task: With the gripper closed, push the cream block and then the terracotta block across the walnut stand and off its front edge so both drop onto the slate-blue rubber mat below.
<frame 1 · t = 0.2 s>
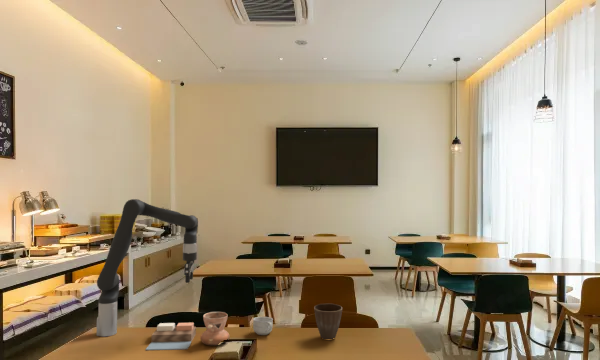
hand: (189, 280, 224), 28 cm above the table, tool pointing down, fingers open, 8 cm apart
cream block: (166, 329, 215), point 4 cm above the table, touching walnut stand
plant pot: (328, 338, 214), on the table
ceramic jug: (215, 342, 207), on the table
walnut stand: (174, 338, 213), on the table
rubber mat: (169, 346, 202), on the table
teacup: (264, 334, 219), on the table
terracotta block: (185, 328, 216), point 4 cm above the table, touching walnut stand
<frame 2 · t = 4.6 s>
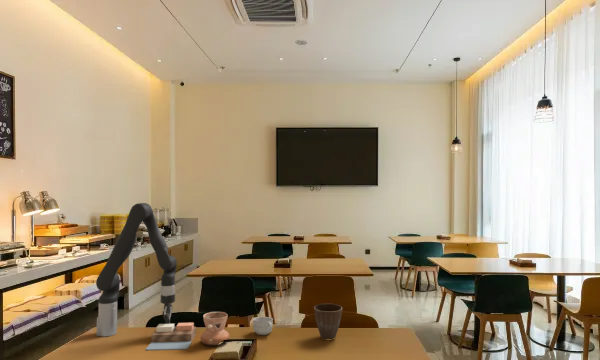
hand: (167, 325, 218), 5 cm above the table, tool pointing down, fingers closed
cream block: (165, 330, 214), point 4 cm above the table
everything else where it was.
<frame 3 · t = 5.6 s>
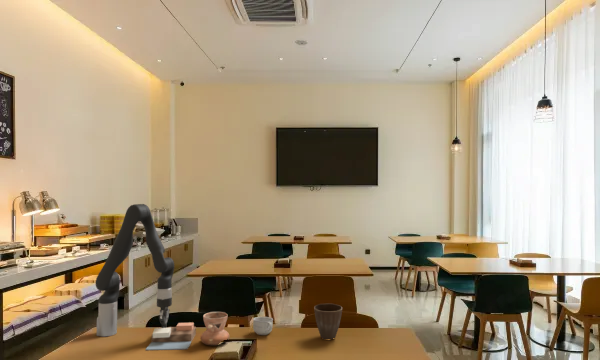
hand: (164, 330, 210), 5 cm above the table, tool pointing down, fingers closed
cream block: (162, 335, 207), point 4 cm above the table, tilted 11°, touching walnut stand
everything else where it was.
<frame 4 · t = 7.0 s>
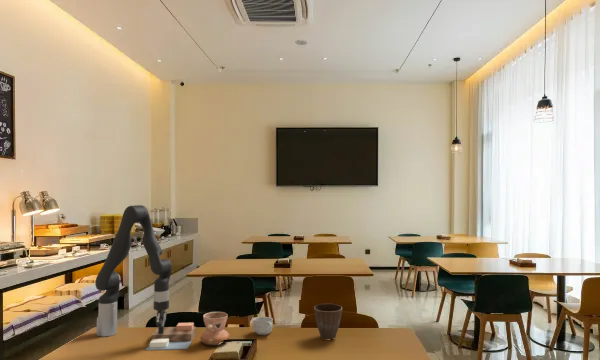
hand: (160, 333, 205), 5 cm above the table, tool pointing down, fingers closed
cream block: (159, 340, 201), point 3 cm above the table, tilted 180°, touching rubber mat
everything else where it was.
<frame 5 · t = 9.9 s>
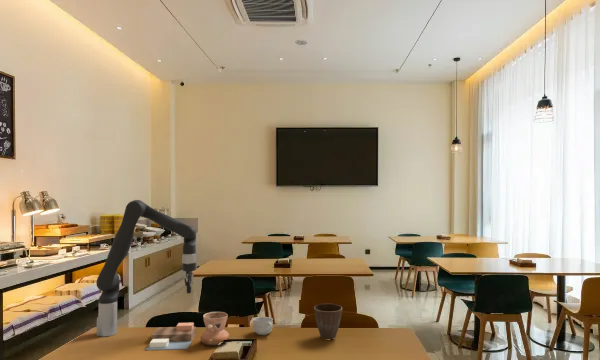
hand: (188, 293, 225), 21 cm above the table, tool pointing down, fingers closed
nothing on the table moved.
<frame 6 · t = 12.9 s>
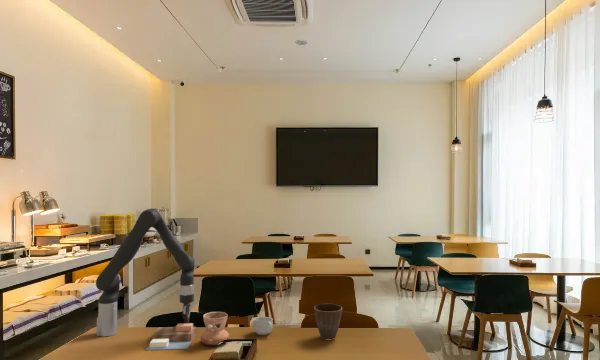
hand: (186, 325, 219), 5 cm above the table, tool pointing down, fingers closed
terracotta block: (184, 329, 215), point 4 cm above the table, touching gripper, walnut stand
everything else where it was.
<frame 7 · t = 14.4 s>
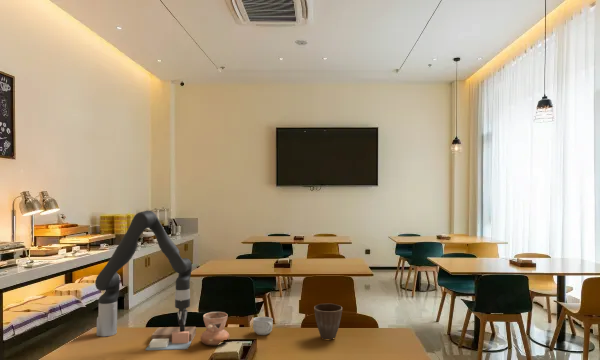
hand: (182, 331, 208), 5 cm above the table, tool pointing down, fingers closed
terracotta block: (181, 336, 207), point 3 cm above the table, tilted 90°, touching gripper, rubber mat
everything else where it was.
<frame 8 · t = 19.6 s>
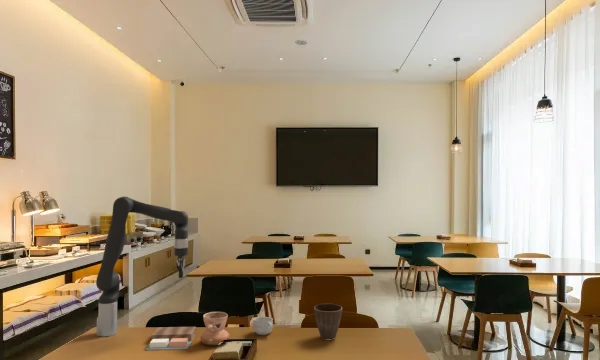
hand: (180, 277, 227), 29 cm above the table, tool pointing down, fingers closed
terracotta block: (178, 339, 202), point 3 cm above the table, tilted 180°, touching rubber mat
everything else where it was.
at the end: cream block inside the target area (4.6 cm from its centre), point 3.0 cm above the table; terracotta block inside the target area (4.9 cm from its centre), point 3.0 cm above the table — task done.
